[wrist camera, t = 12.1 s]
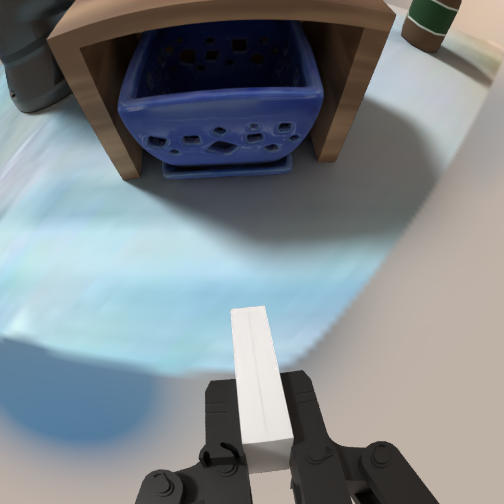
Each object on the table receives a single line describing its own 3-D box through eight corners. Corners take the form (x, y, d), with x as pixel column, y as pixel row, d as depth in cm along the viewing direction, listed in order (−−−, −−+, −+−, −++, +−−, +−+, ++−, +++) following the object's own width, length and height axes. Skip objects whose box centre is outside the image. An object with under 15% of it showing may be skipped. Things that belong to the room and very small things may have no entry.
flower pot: (166, 99, 31) (146, 13, 20) (283, 93, 32) (297, 5, 20) (154, 201, 27) (109, 111, 16) (301, 193, 28) (333, 99, 16)
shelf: (335, 161, 29) (396, 14, 13) (123, 180, 27) (46, 39, 11) (305, 71, 33) (328, -48, 17) (137, 85, 32) (104, -32, 16)
